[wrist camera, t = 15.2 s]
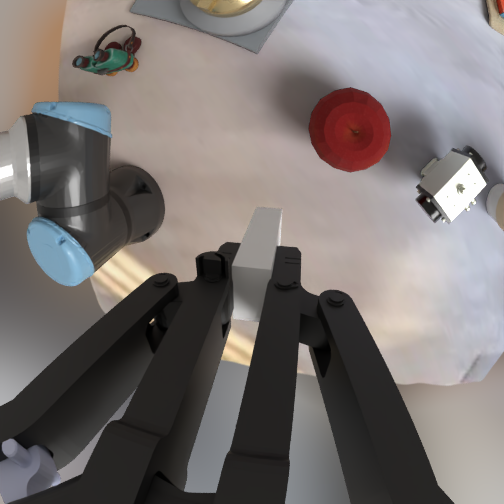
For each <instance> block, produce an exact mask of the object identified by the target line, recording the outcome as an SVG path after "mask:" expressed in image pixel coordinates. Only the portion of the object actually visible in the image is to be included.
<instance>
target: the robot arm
mask: <svg viewBox="0 0 504 504" xmlns="http://www.w3.org/2000/svg"><path fill="white" fill-rule="evenodd" d="M32 113H33V114H30V115H24V116H20V117H19V118H18V120H17V121H16V122H15V124H14V125H13V126H12V128H11V129H9V130H8V131H4V132H0V200H3V199H6V198H9V197H12V196H14V197H17V198H18V199H20V200H22V201H23V202H24V203H26V204H28V203H32V202H34V201H36V203H37V211H38V217H36V218H34V219H33V220H32V222H31V223H30V224H29V226H28V230H27V240H28V244H29V247H30V250H31V252H32V254H33V256H34V258H35V260H36V261H37V263H38V264H39V266H40V267H41V268H42V269H43V270H44V272H45V273H46V274H47V275H48V276H50V277H51V278H52V279H53V280H55V281H57V282H58V283H60V284H62V285H66V286H75V285H78V284H80V283H81V282H82V281H84V280H85V279H86V278H88V277H90V276H92V275H93V273H95V272H96V271H97V270H98V269H99V268H100V267H101V266H102V265H103V264H104V263H106V262H107V261H108V260H109V259H110V258H111V257H112V256H114V255H115V254H116V253H117V252H118V251H119V250H120V249H122V248H123V247H124V246H127V245H131V244H135V243H139V242H143V241H145V240H147V239H148V238H150V237H151V236H152V235H153V234H155V233H156V232H157V231H158V229H159V228H160V226H161V224H162V222H163V219H164V213H165V205H164V199H163V195H162V192H161V190H160V188H159V186H158V184H157V183H156V181H155V180H154V179H153V178H152V177H151V176H150V175H149V174H148V173H147V172H145V171H144V170H142V169H140V168H138V167H134V166H124V167H120V168H118V169H115V170H113V171H111V172H110V145H111V138H112V134H111V112H110V110H109V108H108V107H106V106H105V105H102V104H96V103H84V102H38V103H35V104H34V106H33V109H32ZM281 222H282V209H279V208H266V207H256V209H255V212H254V214H253V216H252V219H251V221H250V224H249V226H248V228H247V231H246V233H245V235H244V238H243V240H242V242H241V243H233V242H226V243H225V244H223V245H222V246H220V248H219V250H218V251H217V252H216V251H210V252H205V253H202V254H200V255H198V256H197V257H196V268H197V277H196V279H195V280H194V281H190V282H179V283H178V281H177V278H176V276H175V275H173V274H170V273H159V274H156V275H153V276H151V277H150V278H148V279H147V280H146V281H145V282H144V283H142V284H141V285H140V286H139V287H137V288H136V289H135V290H134V291H133V292H131V293H130V294H129V295H128V296H127V297H126V298H124V299H123V300H122V301H121V302H120V303H118V304H117V305H116V306H115V307H114V308H113V309H111V310H110V311H109V312H108V313H107V314H106V315H104V317H102V318H101V319H100V320H99V321H98V322H96V323H95V324H94V325H93V326H92V327H91V328H90V329H88V330H87V331H86V332H85V333H84V334H83V335H82V336H80V337H79V338H78V339H77V340H76V341H75V342H74V343H73V344H71V345H70V346H69V347H68V348H67V349H66V350H65V351H64V352H63V353H62V354H60V355H59V356H58V357H57V358H56V359H55V360H54V361H53V362H52V363H51V364H50V365H49V366H47V367H46V368H45V369H44V370H43V371H42V372H41V373H40V374H39V375H38V376H37V377H36V378H35V379H34V380H33V381H32V382H31V383H30V384H29V385H28V386H26V387H25V388H24V389H23V391H21V392H20V393H19V394H18V395H17V396H16V397H15V398H14V399H13V400H12V401H9V402H8V403H6V404H4V405H2V406H0V493H1V496H2V498H3V501H4V503H5V504H285V498H286V491H287V484H288V477H289V466H290V461H289V450H290V441H291V431H292V422H293V411H294V401H295V389H296V377H297V363H298V348H299V342H300V343H302V344H305V345H308V346H309V352H310V355H311V359H312V362H313V365H314V369H315V372H316V376H317V379H318V383H319V386H320V390H321V393H322V396H323V400H324V404H325V407H326V411H327V414H328V418H329V422H330V425H331V429H332V432H333V436H334V440H335V444H336V447H337V451H338V455H339V459H340V463H341V467H342V471H343V474H344V478H345V482H346V486H347V490H348V494H349V498H350V502H351V504H454V502H453V501H452V500H451V499H450V498H449V497H448V496H447V495H446V494H445V493H444V491H443V490H442V489H441V488H440V487H439V486H438V484H437V481H436V478H435V476H434V473H433V470H432V468H431V465H430V462H429V460H428V457H427V455H426V452H425V450H424V447H423V445H422V442H421V440H420V438H419V435H418V433H417V430H416V428H415V426H414V423H413V421H412V419H411V416H410V414H409V412H408V410H407V407H406V405H405V403H404V401H403V399H402V396H401V394H400V392H399V390H398V388H397V386H396V384H395V382H394V379H393V377H392V375H391V373H390V371H389V369H388V367H387V365H386V363H385V361H384V359H383V357H382V355H381V353H380V351H379V349H378V347H377V345H376V343H375V341H374V339H373V337H372V335H371V333H370V332H369V330H368V328H367V326H366V324H365V322H364V320H363V318H362V316H361V315H360V313H359V311H358V309H357V307H356V305H355V304H354V302H353V300H352V298H351V297H350V296H349V295H348V294H346V293H344V292H342V291H339V290H327V291H324V292H322V293H321V294H320V296H317V295H314V294H311V293H309V292H307V291H306V290H305V289H304V288H303V287H302V286H301V282H300V280H301V252H300V251H299V249H298V248H297V247H286V246H280V237H281ZM232 312H233V319H239V320H247V321H255V322H259V327H258V331H257V336H256V340H255V345H254V350H253V354H252V359H251V363H250V368H249V372H248V377H247V381H246V386H245V390H244V394H243V399H242V403H241V407H240V412H239V417H238V420H237V424H236V429H235V433H234V437H233V441H232V445H231V448H230V451H229V452H228V453H227V455H226V458H225V461H224V465H223V468H222V472H221V476H220V480H219V484H218V488H217V491H216V493H188V492H184V488H185V485H186V481H187V466H188V462H189V459H190V455H191V452H192V449H193V446H194V443H195V440H196V436H197V433H198V430H199V427H200V423H201V420H202V417H203V414H204V411H205V408H206V405H207V401H208V398H209V395H210V392H211V389H212V385H213V382H214V379H215V376H216V373H217V369H218V366H219V363H220V360H221V357H222V354H223V350H224V347H225V344H226V341H227V338H228V334H229V331H230V328H231V315H232ZM153 318H154V321H153V322H152V323H151V324H150V323H149V322H150V321H151V320H152V319H153ZM136 388H137V389H136ZM135 389H136V391H135V393H134V395H133V397H132V399H131V401H130V404H129V406H128V407H127V409H126V411H125V413H124V415H123V417H122V418H121V419H120V420H114V421H111V422H110V423H109V424H107V426H106V427H105V429H104V430H103V432H102V434H101V436H100V438H99V440H98V443H97V444H96V447H95V448H94V451H93V453H92V455H91V457H90V459H89V461H88V463H87V465H86V467H85V469H84V472H83V474H81V475H79V476H76V477H74V478H72V479H70V480H68V481H65V482H63V483H61V484H59V483H60V482H61V477H60V475H59V473H58V472H57V471H58V470H59V469H61V468H63V467H65V466H66V465H67V464H69V463H70V462H71V461H72V460H73V459H75V458H76V457H77V456H78V455H79V454H80V452H81V451H83V449H84V448H85V447H86V446H87V445H88V444H89V442H90V441H91V440H92V439H93V438H94V437H95V435H96V434H97V433H98V432H99V431H100V430H101V428H102V427H103V426H104V425H105V424H106V423H107V422H108V420H109V419H110V418H111V417H112V416H113V415H114V413H115V412H116V411H117V410H118V409H119V407H121V405H122V404H123V403H124V402H125V401H126V400H127V398H128V397H129V396H130V395H131V394H132V393H133V391H134V390H135ZM51 485H52V486H53V487H51V488H49V487H50V486H51Z"/></svg>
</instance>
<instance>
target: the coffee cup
mask: <svg viewBox="0 0 504 504" xmlns="http://www.w3.org/2000/svg"><path fill="white" fill-rule="evenodd" d="M486 207H487V212H488V214H489V215H490V216H491V217H492V218H493V219H494V220H495V221H496V222H497V223H498V225H499V226H500V228H501V229H502V230H503V231H504V184H496V185H495V186H493V187H492V189H491V190H490V192H489V194H488V196H487V201H486Z"/></svg>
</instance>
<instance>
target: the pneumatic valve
mask: <svg viewBox="0 0 504 504" xmlns="http://www.w3.org/2000/svg"><path fill="white" fill-rule="evenodd" d="M485 170H486V164H485V162H484V160H483V159H482V157H481V156H480V155H479V154H478V153H477V152H476V151H475V150H474V149H473V148H472V147H470V146H466V147H465V148H464V149H463V150H462V151H460V150H459V149H454V148H452V150H451V151H450V152H449V153H448V154H447V155H446V156H445V157H444V158H443V159H441V160H440V161H439V162H438V159H437V158H435V159H432V160H431V161H430V162H429V163H428V164H427V165H426V166H425V167H424V168H423V169H422V171H421V173H420V174H421V175H422V176H424V177H423V178H422V180H421V182H420V183H419V184H418V185H417V186H416V188H417V189H418V191H417V192H418V193H419V194H420V193H421V194H420V195H419V196H418V197H417V198H416V199H415V200H416V202H417V203H418V204H419V206H420V207H421V208H422V209H423V211H424V212H425V213H426V214H427V215H428V217H429V218H430V219H431V220H432V221H433V222H434V223H436V222H437V221H438V220H439V219H440V218H442V219H441V220H442V221H443V222H447V223H448V224H449V223H450V222H451V221H452V220H453V219H454V218H455V217H456V216H457V215H458V214H459V213H460V212H461V211H462V210H463V209H464V208H465V210H466V211H469V210H470V207H469V206H468V204H469V203H470V202H471V204H472V205H474V204H475V203H476V200H475V199H474V198H475V196H476V195H477V194H478V193H479V192H480V191H481V190H482V189H483V188H484V187H485V185H486V184H487V183H488V182H489V181H488V179H487V177H486V176H485V174H484V171H485Z"/></svg>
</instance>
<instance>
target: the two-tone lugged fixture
mask: <svg viewBox="0 0 504 504" xmlns="http://www.w3.org/2000/svg"><path fill="white" fill-rule="evenodd" d="M190 1H191V2H192V3H193V4H194V5H195V6H196V7H198V8H199V9H200V10H202V11H203V12H204V13H206V14H208V15H211V16H214V17H220V18H228V17H235V16H239V15H242V14H245V13H247V12H249V11H251V10H252V9H254V8H255V7H256V6H258V5H259V4H260V3H261V1H262V0H190Z"/></svg>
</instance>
